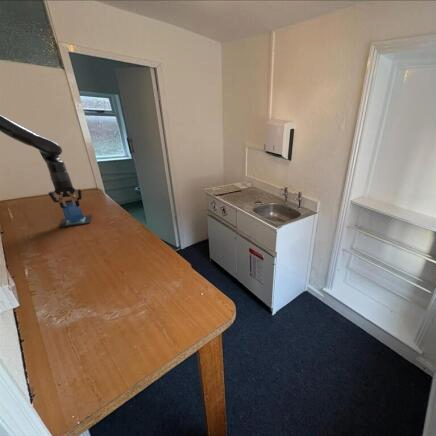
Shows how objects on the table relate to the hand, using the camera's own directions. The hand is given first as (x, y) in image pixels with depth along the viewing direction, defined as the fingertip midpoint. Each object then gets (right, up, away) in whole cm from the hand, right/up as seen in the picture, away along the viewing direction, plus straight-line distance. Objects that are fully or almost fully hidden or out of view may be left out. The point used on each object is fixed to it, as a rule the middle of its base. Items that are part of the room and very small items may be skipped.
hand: (70, 207), depth 136 cm
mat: (0, -9, +4) cm, 9 cm away
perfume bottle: (0, -7, +3) cm, 8 cm away
